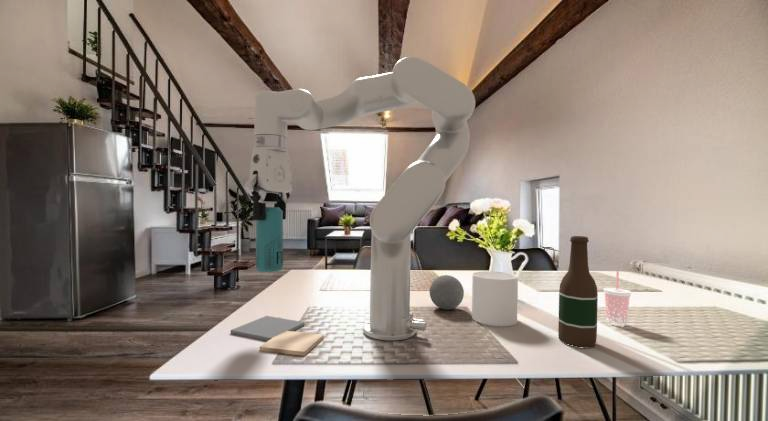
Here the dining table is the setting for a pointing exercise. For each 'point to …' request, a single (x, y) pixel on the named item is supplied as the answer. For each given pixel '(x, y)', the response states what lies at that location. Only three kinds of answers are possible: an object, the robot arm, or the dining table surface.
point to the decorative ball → (446, 292)
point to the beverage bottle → (270, 238)
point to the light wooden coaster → (292, 343)
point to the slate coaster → (267, 328)
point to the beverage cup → (617, 303)
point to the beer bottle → (578, 299)
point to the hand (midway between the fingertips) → (269, 219)
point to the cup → (494, 298)
